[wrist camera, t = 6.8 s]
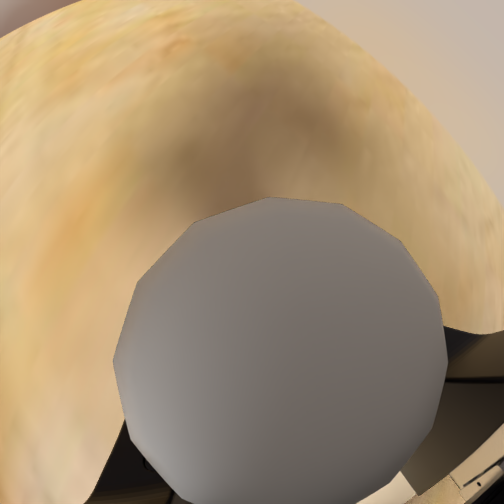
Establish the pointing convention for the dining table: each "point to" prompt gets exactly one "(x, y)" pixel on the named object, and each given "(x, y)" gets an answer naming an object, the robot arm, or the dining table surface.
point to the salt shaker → (281, 357)
